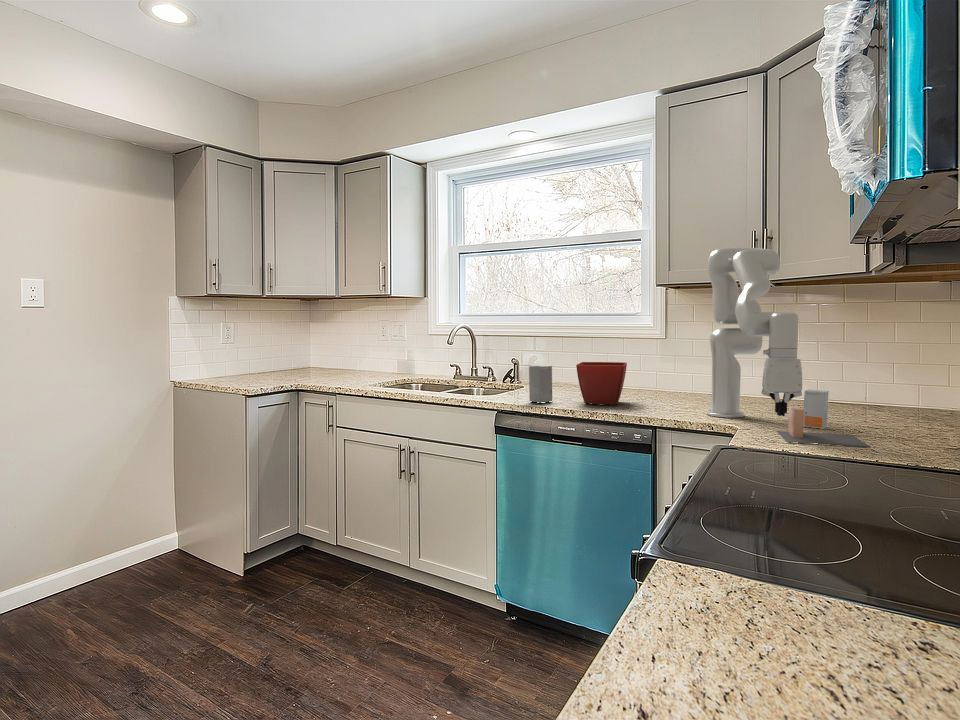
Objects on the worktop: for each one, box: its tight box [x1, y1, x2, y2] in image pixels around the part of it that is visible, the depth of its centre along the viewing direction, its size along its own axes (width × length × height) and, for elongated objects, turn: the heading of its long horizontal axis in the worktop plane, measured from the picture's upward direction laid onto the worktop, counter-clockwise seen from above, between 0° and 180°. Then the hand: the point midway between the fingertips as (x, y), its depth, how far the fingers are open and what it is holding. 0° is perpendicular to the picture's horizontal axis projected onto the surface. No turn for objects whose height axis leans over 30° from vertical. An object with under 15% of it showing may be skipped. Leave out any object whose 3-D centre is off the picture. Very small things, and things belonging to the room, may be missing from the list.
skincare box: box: [803, 389, 830, 430], centre depth 181 cm, size 6×4×12 cm
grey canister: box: [528, 365, 553, 403], centre depth 239 cm, size 8×7×16 cm
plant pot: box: [575, 361, 628, 406], centre depth 236 cm, size 19×19×17 cm
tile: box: [787, 406, 804, 438], centre depth 167 cm, size 7×2×8 cm, turn 162°
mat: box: [776, 430, 871, 448], centre depth 163 cm, size 16×20×1 cm
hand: (780, 415), depth 168 cm, fingers closed
